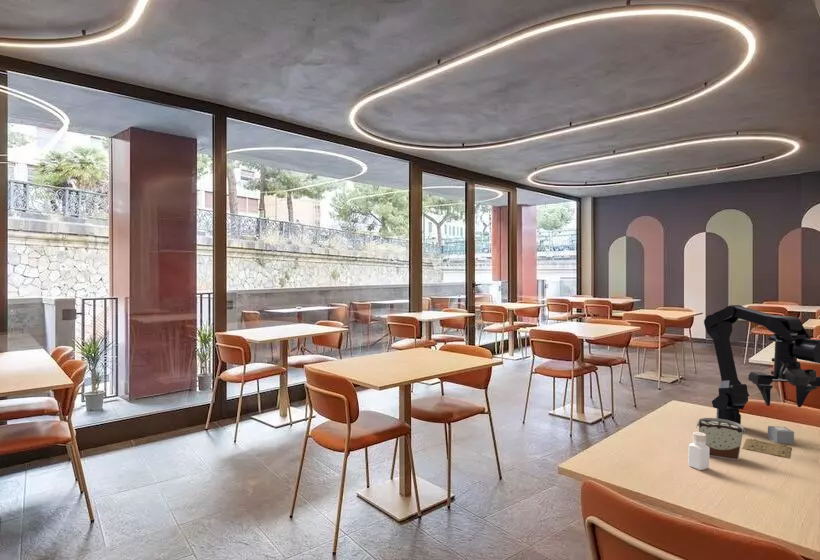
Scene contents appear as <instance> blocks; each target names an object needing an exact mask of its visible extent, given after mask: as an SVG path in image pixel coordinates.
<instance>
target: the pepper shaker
mask: <svg viewBox="0 0 820 560" xmlns="http://www.w3.org/2000/svg"><path fill="white" fill-rule="evenodd" d="M709 451H710V448H709V447H708V446H707V445H706V434H704V433H701V432H699V431H694V432H692V442H691V443H689V444H688V452H687V453H688V456H687V459H688V461H687V462H688V463H687V464H688V465H687V466H688V467H692V468H694V469H696V470H699V471H703V470H707V469H708V468H710V467H709V466H710V456H709Z"/></svg>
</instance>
